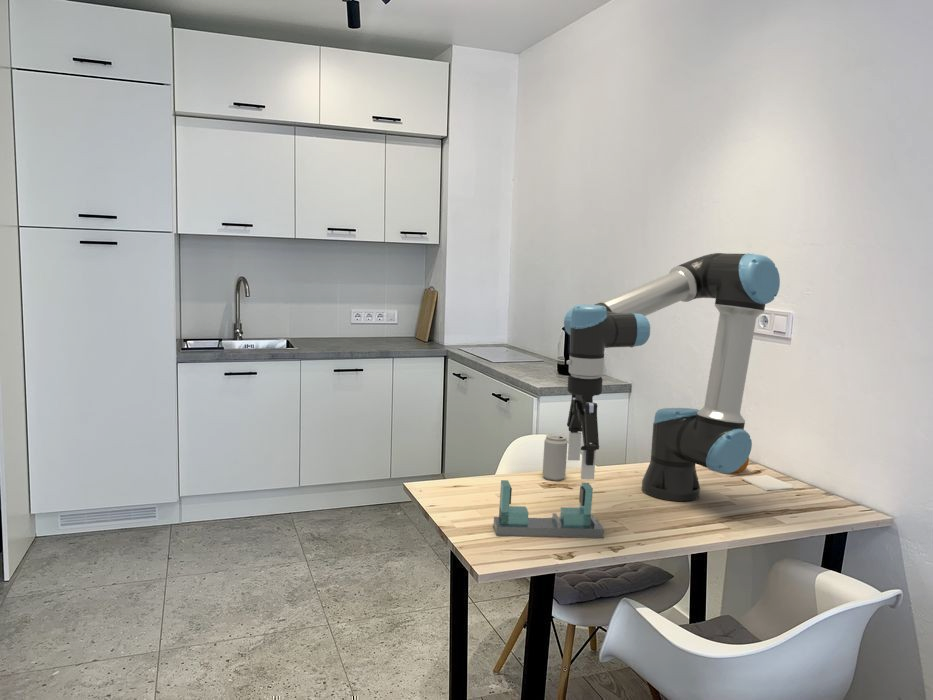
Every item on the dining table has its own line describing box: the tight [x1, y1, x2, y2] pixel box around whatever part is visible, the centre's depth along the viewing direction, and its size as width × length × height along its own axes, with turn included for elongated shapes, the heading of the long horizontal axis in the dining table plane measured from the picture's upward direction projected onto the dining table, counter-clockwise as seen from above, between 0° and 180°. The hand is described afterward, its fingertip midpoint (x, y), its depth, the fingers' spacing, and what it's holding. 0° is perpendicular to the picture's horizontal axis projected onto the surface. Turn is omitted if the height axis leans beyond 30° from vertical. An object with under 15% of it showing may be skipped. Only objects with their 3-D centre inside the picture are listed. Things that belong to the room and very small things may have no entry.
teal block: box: [559, 482, 594, 527], centre depth 163 cm, size 6×4×9 cm, turn 94°
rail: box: [492, 479, 605, 539], centre depth 163 cm, size 24×6×11 cm, turn 94°
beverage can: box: [542, 433, 569, 482], centre depth 203 cm, size 6×6×12 cm
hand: (580, 469), depth 162 cm, fingers open, 13 cm apart
